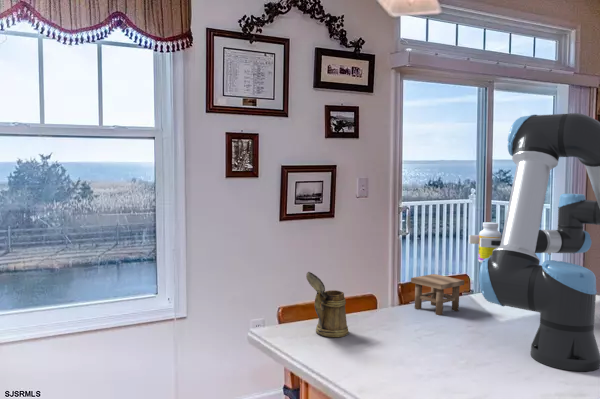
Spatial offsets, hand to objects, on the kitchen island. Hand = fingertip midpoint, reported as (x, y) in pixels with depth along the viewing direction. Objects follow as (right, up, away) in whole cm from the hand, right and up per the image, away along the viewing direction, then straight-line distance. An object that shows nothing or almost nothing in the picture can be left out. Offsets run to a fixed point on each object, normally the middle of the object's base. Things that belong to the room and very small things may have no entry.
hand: (475, 240), depth 167 cm
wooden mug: (-48, -24, -23) cm, 59 cm away
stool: (-11, -23, +5) cm, 26 cm away
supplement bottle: (+5, -7, +1) cm, 9 cm away
